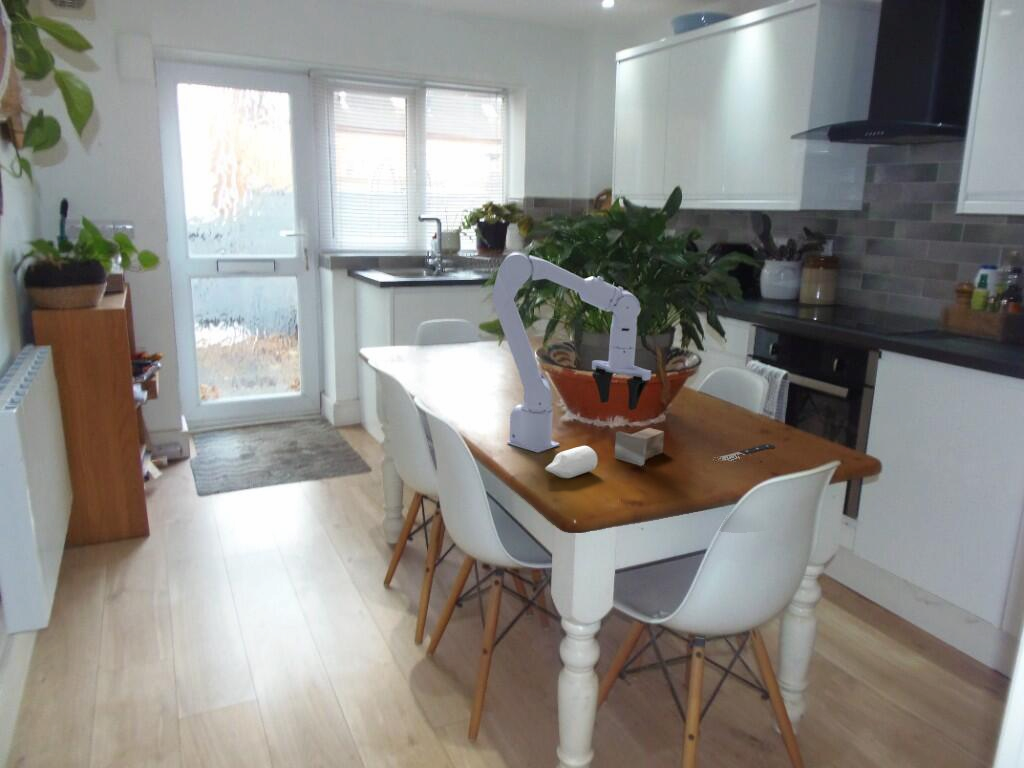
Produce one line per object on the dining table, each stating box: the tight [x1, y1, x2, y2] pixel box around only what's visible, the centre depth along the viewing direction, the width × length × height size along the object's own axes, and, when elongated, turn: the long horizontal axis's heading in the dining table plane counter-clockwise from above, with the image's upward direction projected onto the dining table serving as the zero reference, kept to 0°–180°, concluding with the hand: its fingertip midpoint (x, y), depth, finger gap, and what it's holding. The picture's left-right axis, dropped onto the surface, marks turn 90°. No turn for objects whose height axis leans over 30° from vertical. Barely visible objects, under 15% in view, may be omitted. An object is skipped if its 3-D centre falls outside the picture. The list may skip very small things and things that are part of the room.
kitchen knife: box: [712, 443, 776, 462], centre depth 166 cm, size 29×1×10 cm
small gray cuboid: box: [613, 427, 665, 467], centre depth 166 cm, size 11×7×6 cm, turn 138°
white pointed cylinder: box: [544, 445, 598, 479], centre depth 152 cm, size 6×12×6 cm, turn 132°
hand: (618, 405), depth 169 cm, fingers open, 7 cm apart
